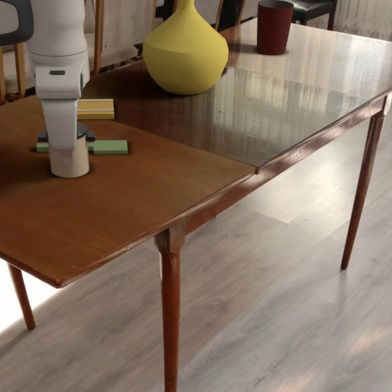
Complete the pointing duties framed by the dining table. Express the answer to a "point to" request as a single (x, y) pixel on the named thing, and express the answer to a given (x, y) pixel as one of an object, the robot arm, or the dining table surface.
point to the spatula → (97, 147)
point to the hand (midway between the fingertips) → (68, 154)
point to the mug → (273, 26)
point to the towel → (95, 109)
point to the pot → (79, 153)
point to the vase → (185, 52)
